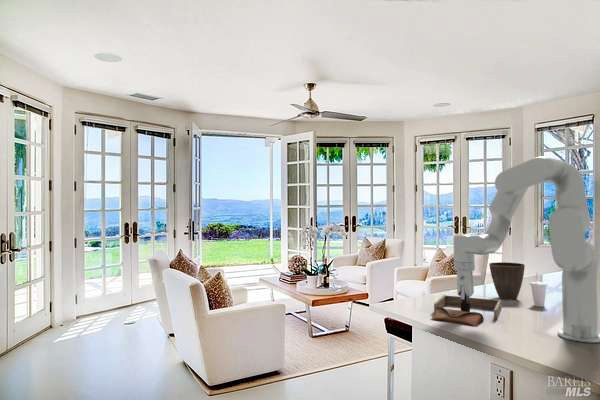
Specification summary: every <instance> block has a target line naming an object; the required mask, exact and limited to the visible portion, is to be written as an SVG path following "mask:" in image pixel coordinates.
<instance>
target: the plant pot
mask: <svg viewBox="0 0 600 400" xmlns="http://www.w3.org/2000/svg"><path fill="white" fill-rule="evenodd" d="M488 265H489V271H490V275H491V279H492V281H493V282H492V283H493V285H494V289H495V291H496V293H497V296H498V298H499V300H504V301H515V300H517V299H518V297H519V294H520V291H521V288H522V284H523V279H524V274H525V267H526V266H525V264H523V263H518V262H505V261H504V262H500V261H499V262H490V263H488Z"/></svg>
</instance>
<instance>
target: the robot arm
mask: <svg viewBox="0 0 600 400" xmlns="http://www.w3.org/2000/svg"><path fill="white" fill-rule="evenodd" d="M584 182H585V181H584V177H583V175H582V174H581V172H580V170H579V169H578V168H577V167H576V166H574V165H573V164H572V163H570V162H568V161H566V160H565V161H564V160H562V159H559V158H554V157H548V156H537V157H533V158H531V159H529V160H526V161H524V162H521V163H519V164H516V165H514V166H511V167H508V168H506V169H505V170H502V171H501V172H499V173H498V174H497V175H496V177H495V181H494V187H495V189H496V190H497V192H495V196H494V197H493V199H492V200H491V202H490V204H489V207H488V209H489V212H490V214H491V220H490V224H489V226H488V228H487V229H486V231H485V233H484V234H477V235H471V234H467V233H466V234H465V233H464V234H456V235H454V236H453V270H454V271H456V292H457V295H458V297H460V299H461V303H460V305H461V306H460V311H466V312H471V307H470V303H469V297H470V298H472V296H473V295H474V293H475V291H474V286H475V285H474V274H473V271H475V269H476V268H475V267H476V266H475V264H476V263H475V255H478V256H485V255H489V254H493V253H496V252H497V251H498V250H499V249H500V248H501V247H502V245H503V243H504V241H505V239H506V238H507V236H508V235H509V234H508V233H509V231H510V229H511V226H512V225H511V224H512V219H513V216H514V214H515V213H516V210H517V208H518V207H519V205H520V204H521V202H522V200H523V198H524V196H525V194H526V192H527V190H528V188H530V187H533V186H536V185H538V184H541V183H545V184H547V183H548V184H553V185H554V187H555V191H554V194H555V202H556V209H554V210H553V211H552V212H551V214H550V216H549V218H548V219H549V220H548V232H549V238H550V239H549V241H550V248H551V254H552V255H551V256H552V258H553V262H554V264H556V265H557V267H559V269H561V270H562V271H561V272H562V273H561V274H562V275H561V293H562V295H561V298H562V328H560V329H558V330H557V335H558V336H560V337H562V338H563V339H565V340H571V341H574V342H581V343H590V344H591V343H595V344H596V343H600V332H599V322H598V321H599V317H598V316H599V314H598V313H599V312H598V311H599V310H598V309H599V308H598V268H599V267H598V266H599V254H598V250H597V249H596V247H595V246H594V245H593V243H591V242H589V241H587V240H586V234H585V232H587V231H588V230H589V228H590V226H591V218H590V217H591V216H590V213H589V206H588V199H587V193H586V188H585V183H584Z"/></svg>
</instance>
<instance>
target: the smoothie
mask: <svg viewBox="0 0 600 400" xmlns="http://www.w3.org/2000/svg"><path fill="white" fill-rule="evenodd" d="M535 278H536V281H531V282H530V286H531V292H532V299H533V306H534V307H545V303H546V302H545V301H546V295H547V294H546V293H547V287H548V283H547V282H543V281H542V282H540V281H539V273H538V272H536V275H535Z"/></svg>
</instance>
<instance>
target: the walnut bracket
mask: <svg viewBox="0 0 600 400" xmlns="http://www.w3.org/2000/svg"><path fill="white" fill-rule="evenodd" d="M460 303H461V299H460V296H459V295H458V296H456V295H448V294H447V295H446V294H443V295H442V296H441V297H440V298H439V299H438V300H436V301H435V302H434V303H433V313H434V312H435V310H436V308H437V307H441V308H445V307H446V306H452V307H461V305H460ZM469 303H470V309H471V308H473V309H483V310H493V320H494V321H495V322H496V321H498V319H499V317H500V314H501V313H502V312H501V311H502V299H491V298H479V297H469Z"/></svg>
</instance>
